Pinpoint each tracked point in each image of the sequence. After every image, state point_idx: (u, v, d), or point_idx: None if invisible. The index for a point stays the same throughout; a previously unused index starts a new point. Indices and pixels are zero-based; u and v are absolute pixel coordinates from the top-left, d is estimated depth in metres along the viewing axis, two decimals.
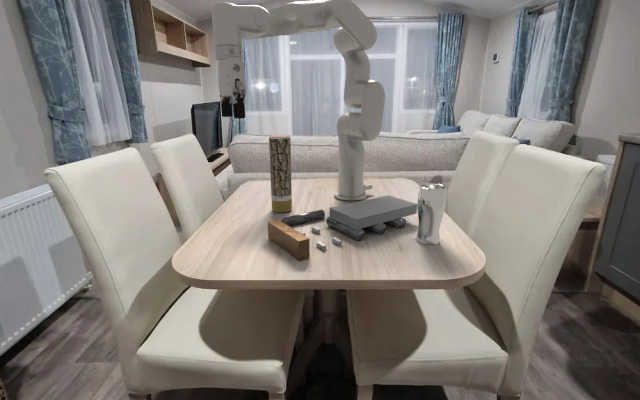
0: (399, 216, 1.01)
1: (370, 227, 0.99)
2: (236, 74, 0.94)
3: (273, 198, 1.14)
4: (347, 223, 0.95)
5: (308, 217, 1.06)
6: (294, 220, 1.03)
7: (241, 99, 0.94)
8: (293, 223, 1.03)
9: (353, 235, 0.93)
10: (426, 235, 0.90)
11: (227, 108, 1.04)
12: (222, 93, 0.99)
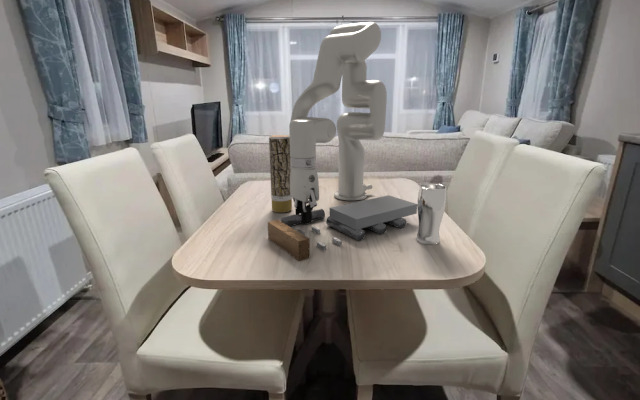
0: (399, 216, 1.01)
1: (370, 227, 0.99)
2: (311, 184, 0.99)
3: (273, 198, 1.14)
4: (347, 223, 0.95)
5: None
6: (294, 220, 1.03)
7: (310, 209, 1.02)
8: (293, 223, 1.03)
9: (353, 235, 0.93)
10: (426, 235, 0.90)
11: (301, 212, 1.07)
12: (294, 196, 1.05)
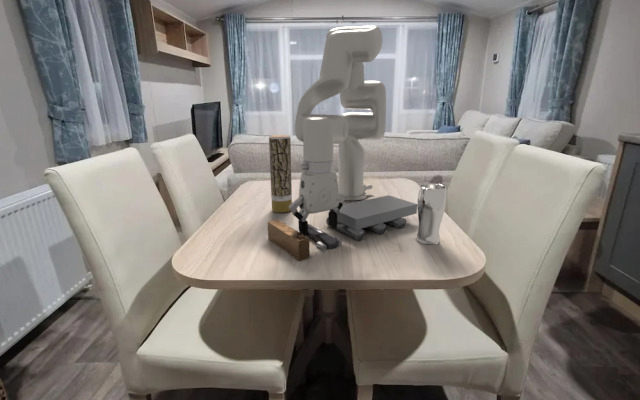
0: (399, 216, 1.01)
1: (370, 227, 0.99)
2: (301, 190, 0.87)
3: (273, 198, 1.14)
4: (347, 223, 0.95)
5: (315, 236, 0.92)
6: None
7: (297, 217, 0.88)
8: None
9: (353, 235, 0.93)
10: (426, 235, 0.90)
11: (331, 218, 0.94)
12: None
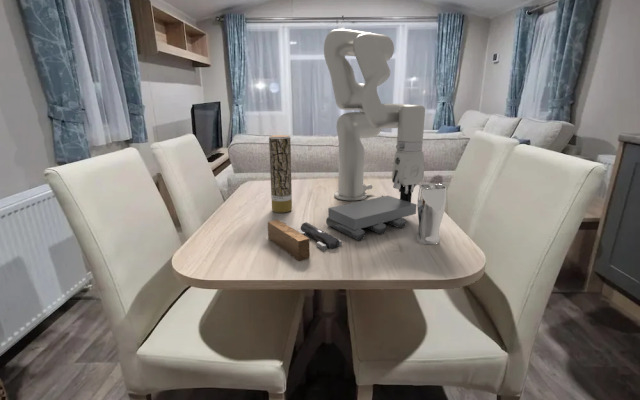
0: (398, 216, 1.01)
1: (370, 227, 0.99)
2: (396, 166, 1.04)
3: (273, 198, 1.14)
4: (346, 223, 0.95)
5: (316, 236, 0.92)
6: (306, 230, 0.96)
7: (401, 190, 1.08)
8: (305, 232, 0.96)
9: (353, 235, 0.93)
10: (426, 235, 0.90)
11: None
12: None
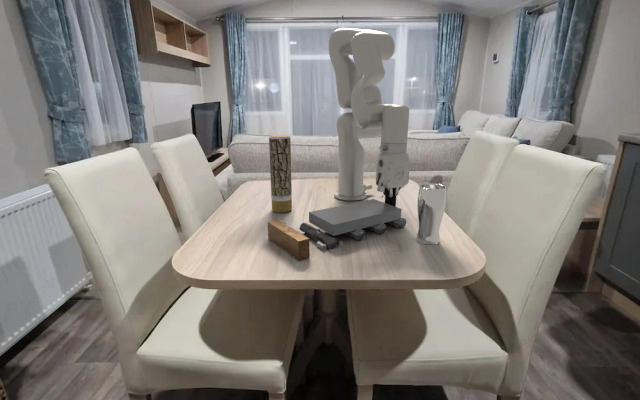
0: (381, 221, 0.97)
1: (370, 227, 0.99)
2: (380, 168, 1.00)
3: (273, 198, 1.14)
4: (325, 228, 0.91)
5: (314, 238, 0.92)
6: (304, 232, 0.96)
7: (385, 193, 1.04)
8: (305, 234, 0.96)
9: (353, 235, 0.93)
10: (426, 235, 0.90)
11: None
12: None
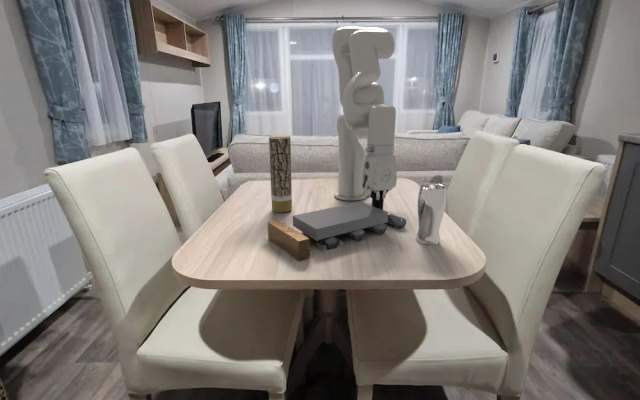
0: (367, 225, 0.94)
1: (370, 227, 0.99)
2: (366, 171, 0.98)
3: (273, 198, 1.14)
4: (308, 233, 0.88)
5: None
6: None
7: (372, 196, 1.01)
8: None
9: (353, 235, 0.93)
10: (426, 235, 0.90)
11: None
12: None
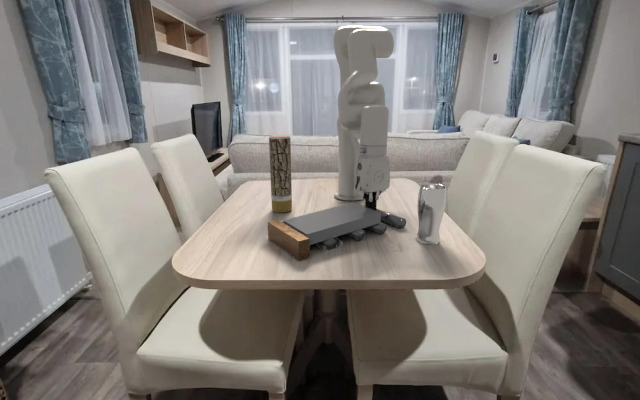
0: (359, 227, 0.92)
1: (370, 227, 0.99)
2: (358, 172, 0.96)
3: (273, 198, 1.14)
4: None
5: None
6: None
7: (365, 197, 1.00)
8: None
9: (353, 235, 0.93)
10: (426, 235, 0.90)
11: None
12: None
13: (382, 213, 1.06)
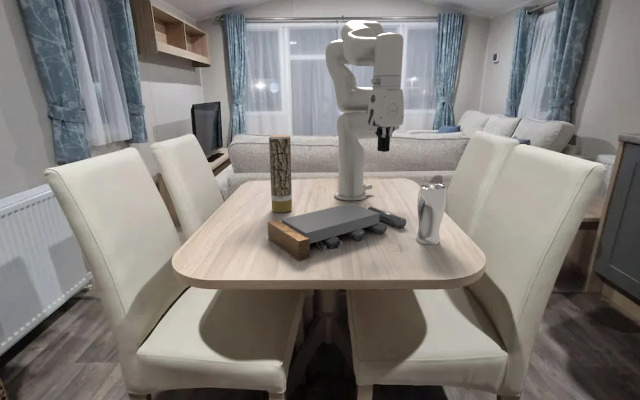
0: (358, 227, 0.92)
1: (370, 227, 0.99)
2: (372, 105, 0.93)
3: (273, 198, 1.14)
4: None
5: None
6: None
7: (378, 133, 0.97)
8: None
9: (353, 235, 0.93)
10: (426, 235, 0.90)
11: None
12: None
13: (382, 213, 1.06)
